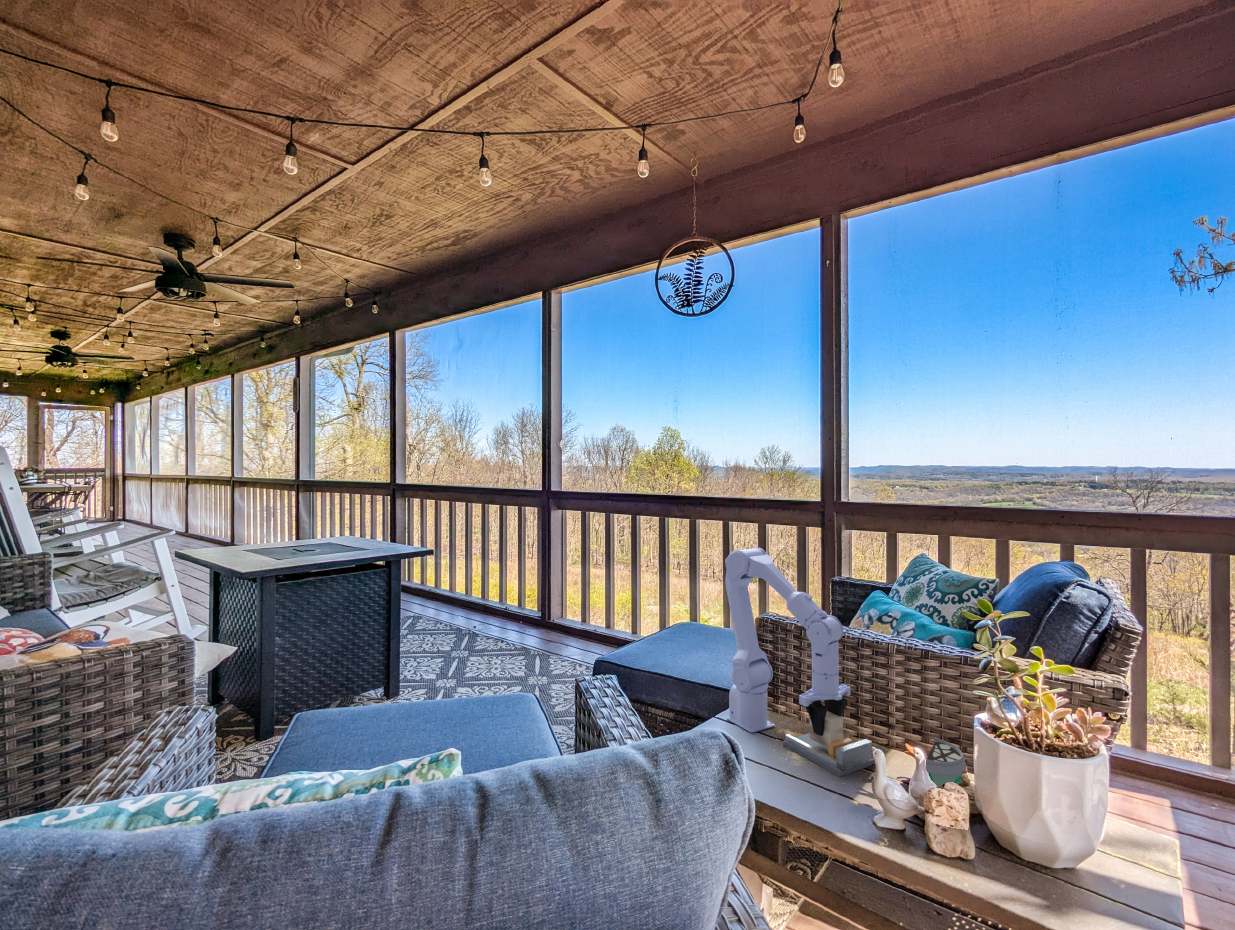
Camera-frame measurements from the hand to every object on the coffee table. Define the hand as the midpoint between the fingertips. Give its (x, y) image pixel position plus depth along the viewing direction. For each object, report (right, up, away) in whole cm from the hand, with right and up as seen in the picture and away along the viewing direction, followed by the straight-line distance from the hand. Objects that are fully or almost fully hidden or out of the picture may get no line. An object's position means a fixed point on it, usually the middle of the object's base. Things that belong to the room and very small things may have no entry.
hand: (825, 731), depth 129 cm
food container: (+16, -5, -20) cm, 26 cm away
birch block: (0, -2, 0) cm, 2 cm away
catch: (+2, -4, -4) cm, 6 cm away
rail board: (0, -5, -1) cm, 5 cm away
